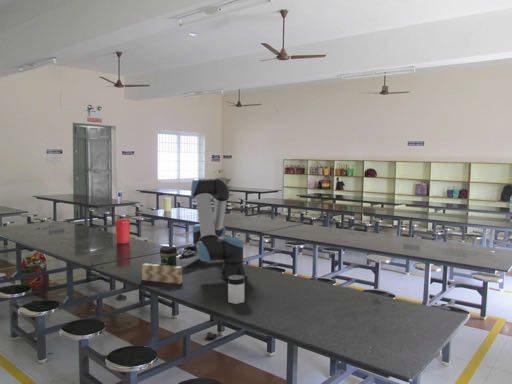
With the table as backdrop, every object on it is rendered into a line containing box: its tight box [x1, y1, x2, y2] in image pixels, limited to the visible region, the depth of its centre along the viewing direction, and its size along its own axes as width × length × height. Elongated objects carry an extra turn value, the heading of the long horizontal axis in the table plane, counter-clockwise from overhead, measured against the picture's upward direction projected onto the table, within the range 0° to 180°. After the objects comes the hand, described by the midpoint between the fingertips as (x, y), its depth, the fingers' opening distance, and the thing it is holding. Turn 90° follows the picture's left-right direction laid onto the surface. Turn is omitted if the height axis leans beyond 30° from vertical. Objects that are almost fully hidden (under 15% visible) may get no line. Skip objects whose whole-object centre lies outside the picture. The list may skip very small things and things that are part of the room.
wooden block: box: [141, 262, 183, 285], centre depth 233 cm, size 24×3×9 cm, turn 73°
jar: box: [227, 275, 246, 305], centre depth 202 cm, size 9×8×12 cm
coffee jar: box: [159, 245, 178, 266], centre depth 239 cm, size 10×8×19 cm
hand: (175, 259), depth 249 cm, fingers closed
